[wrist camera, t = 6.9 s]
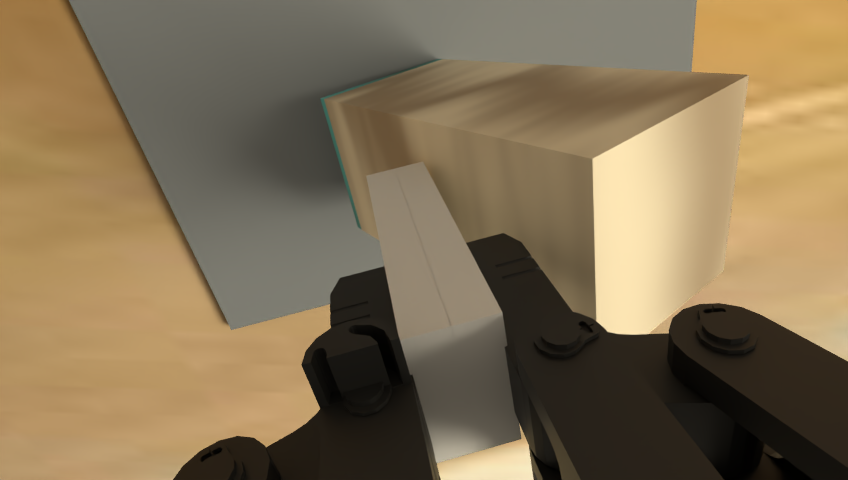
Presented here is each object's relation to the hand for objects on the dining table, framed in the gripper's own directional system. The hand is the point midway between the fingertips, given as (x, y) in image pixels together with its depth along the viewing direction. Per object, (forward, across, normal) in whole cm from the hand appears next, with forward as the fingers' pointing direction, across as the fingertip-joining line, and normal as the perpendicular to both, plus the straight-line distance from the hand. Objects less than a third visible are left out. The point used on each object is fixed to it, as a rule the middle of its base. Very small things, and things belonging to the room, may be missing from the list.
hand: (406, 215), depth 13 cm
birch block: (+7, -1, 0) cm, 7 cm away
